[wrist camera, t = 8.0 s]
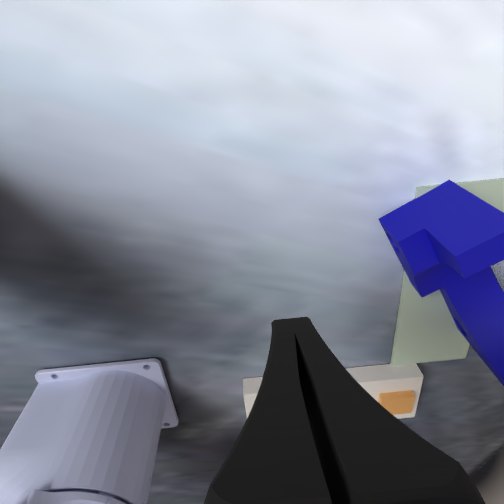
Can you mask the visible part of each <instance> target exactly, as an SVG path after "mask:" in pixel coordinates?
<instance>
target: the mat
mask: <svg viewBox="0 0 504 504" xmlns="http://www.w3.org/2000/svg"><path fill="white" fill-rule="evenodd" d="M455 184H457V185H459V186H460V187H462V188H464V189H465V190H467V191H469V192H470V193H472V194H474V195H475V196H477V197H479V198H480V199H482V200H484V201H485V202H487V203H488V204H490V205H492V206H493V207H495V208H497V209H498V210H500V211H502V212H503V213H504V178H501V179H491V180H481V181H472V182H462V183H455ZM438 186H439V185H433V186H423V187H417V188H416V195H415V199H416V198H418V197H419V196H421V195H423V194H425V193H427V192H429V191H430V190H432V189H434V188H436V187H438ZM491 268H493V265H492V266H491ZM469 345H470V344H469V342H468V341H467V340H466V339H465V337H464V336H463V335H462V334H461V332H460V331H459V330H458V328H457V326H456V324H455V322H454V320H453V318H452V315H451V313H450V311H449V309H448V307H447V305H446V302H445V300H444V298H443V296H442V294H441V292H440V289H439V290H437V291H435V292H433V293H431V294H429V295H427V296H425V297H423V298H422V297H421V296H420V295H419V293H418V292H417V291H416V290H415V288H414V287H413V286H412V284H411V282H410V280H409V278H408V276H407V274H406V272H405V270H404V275H403V282H402V289H401V296H400V302H399V309H398V316H397V322H396V329H395V336H394V343H393V349H392V356H391V363H390V364H391V366H394V365H404V364H414V363H424V362H434V361H443V360H453V359H463V358H466V355H467V352H468V349H469Z"/></svg>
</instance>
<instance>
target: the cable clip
mask: <svg viewBox="0 0 504 504" xmlns="http://www.w3.org/2000/svg"><path fill="white" fill-rule="evenodd" d="M379 221H380V223H381V225H382V227H383V229H384V231H385V233H386V235H387V237H388V239H389V241H390V243H391V245H392V247H393V249H394V251H395V253H396V255H397V257H398V258H399V260H400V262H401V264H402V266H403V268H404V270H405V272H406V274H407V276H408V278H409V280H410V282H411V284H412V286H413V287H414V288H415V290H416V291H417V292H418V293H419V295H420V296H421V297H422V298H423V297H425V296H427V295H429V294H431V293H433V292H435V291H437V290H439V289H440V292H441V294H442V296H443V298H444V300H445V302H446V305H447V307H448V309H449V311H450V313H451V315H452V318H453V320H454V322H455V324H456V326H457V328H458V330H459V331H460V332H461V334H462V335H463V336H464V337H465V339H466V340H467V341H468V342H469V344H470V345H471V346H472V347H473V349H474V350H475V351H476V352H477V354H478V355H479V356H480V357H481V358H482V360H483V361H484V362H485V363H486V365H487V366H488V367H489V368H490V370H491V371H492V372H493V373H494V375H495V376H496V377H497V378H498V380H499V381H500V382H501V383H502V385H503V386H504V292H503V290H502V289H501V287H500V285H499V283H498V281H497V279H496V277H495V275H494V273H493V270H492V268H491V266H492V265H494V264H496V263H498V262H500V261H502V260H504V213H503V212H502V211H500V210H498V209H497V208H495V207H493V206H492V205H490V204H488V203H487V202H485V201H484V200H482V199H480V198H479V197H477V196H475V195H474V194H472V193H470V192H469V191H467V190H465V189H464V188H462V187H460V186H459V185H457V184H455V183H454V182H452V181H450V180H448V181H446V182H445V183H443V184H441V185H439V186H438V187H436V188H434V189H432V190H430V191H429V192H427V193H425V194H423V195H421V196H419V197H418V198H416V199H414V200H412V201H410V202H408V203H407V204H405V205H403V206H401V207H399V208H398V209H396V210H394V211H392V212H390V213H389V214H387V215H385V216H383V217H381V218H380V219H379Z"/></svg>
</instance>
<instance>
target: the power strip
mask: <svg viewBox="0 0 504 504" xmlns="http://www.w3.org/2000/svg"><path fill="white" fill-rule="evenodd" d="M345 369H346V370H347V371H348V372H349V373H350V374H351V376H352V377H353V378H354V379H355V380H356V381H357V382H358V383H359V384H360V385H361V386H362V387H363V388H364V389H365V390H366V391H367V392H368V393H369V394H370V395H371V396H372V397H373V398H374V399H375V400H376V401H377V402H379V403H380V404H381V405H382V406H383V407H384V408H385V409H386V410H388V411H389V412H390V413H391V414H392V415H394V416H395V417H396V418H397V419H399V418H409V417H415V413H416V408H417V404H418V399H419V395H420V390H421V386H422V381H423V377H424V376H423V374H422V373H421V371H420V369H419V367H418V366H417V364H416V363H414V364H404V365H394V366H391V364H384V365H374V366H364V367H354V368H345ZM262 378H263V377H255V378H245V379H243V395H244V402H245V408H246V414H247V418H248V416H249V414H250V411H251V409H252V407H253V404H254V402H255V399H256V396H257V394H258V391H259V388H260V385H261V382H262Z"/></svg>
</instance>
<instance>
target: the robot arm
mask: <svg viewBox="0 0 504 504" xmlns="http://www.w3.org/2000/svg"><path fill="white" fill-rule="evenodd" d="M147 365H149V366H147ZM35 378H36V380H37V382H38V386H37V387H36V389H35V391H34V392H33V394H32V396H31V398H30V399H29V401H28V403H27V404H26V406H25V408H24V410H23V411H22V413H21V415H20V417H19V418H18V420H17V422H16V423H15V425H14V427H13V429H12V430H11V432H10V434H9V435H8V437H7V439H6V441H5V442H4V444H3V446H2V447H1V449H0V504H147V500H148V495H149V489H150V484H151V479H152V474H153V468H154V463H155V458H156V452H157V447H158V442H159V437H160V431H161V428H171V427H176V426H177V425H178V422H179V420H178V416H177V413H176V410H175V407H174V403H173V400H172V397H171V394H170V391H169V387H168V384H167V381H166V378H165V375H164V371H163V368H162V365H161V362H160V361H159V360H158V359H154V358H152V359H143V360H133V361H123V362H113V363H103V364H93V365H83V366H74V367H64V368H54V369H44V370H39V371H37V373H36V375H35ZM204 504H485V502H484V500H483V498H482V497H481V495H480V493H479V491H478V489H477V488H476V486H475V485H474V483H473V482H472V480H471V479H470V477H469V476H468V475H467V473H466V472H465V470H464V469H463V468H462V466H461V465H460V463H459V462H457V461H456V460H454V459H453V458H451V457H450V456H448V455H447V454H445V453H444V452H442V451H441V450H439V449H438V448H436V447H435V446H433V445H432V444H430V443H429V442H427V441H426V440H425V439H423V438H422V437H420V436H419V435H418V434H416V433H415V432H414V431H412V430H411V429H410V428H408V427H407V426H406V425H405V424H403V423H402V422H401V421H400V420H399V419H397V418H396V417H395V416H394V415H392V414H391V413H390V412H389V411H388V410H386V409H385V408H384V407H383V406H382V405H381V404H380V403H379V402H377V401H376V400H375V399H374V398H373V397H372V396H371V395H370V394H369V393H368V392H367V391H366V390H365V389H364V388H363V387H362V386H361V385H360V384H359V383H358V382H357V381H356V380H355V379H354V378H353V377H352V376H351V374H350V373H349V372H348V371H347V370H346V369H345V368H344V367H343V365H342V364H341V363H340V362H339V361H338V359H337V358H336V357H335V356H334V354H333V353H332V352H331V350H330V349H329V348H328V346H327V345H326V344H325V342H324V341H323V340H322V338H321V337H320V335H319V334H318V332H317V331H316V329H315V327H314V326H313V324H312V322H311V320H310V319H309V318H308V317H300V318H291V319H281V320H274V321H273V322H272V337H271V345H270V351H269V355H268V360H267V364H266V368H265V372H264V375H263V378H262V382H261V385H260V388H259V391H258V394H257V396H256V399H255V402H254V404H253V407H252V409H251V411H250V414H249V416H248V418H247V420H246V423H245V425H244V427H243V429H242V431H241V433H240V435H239V437H238V439H237V441H236V442H235V444H234V446H233V448H232V450H231V452H230V454H229V455H228V457H227V459H226V461H225V462H224V464H223V465H222V467H221V469H220V470H219V472H218V473H217V475H216V477H215V478H214V480H213V481H212V483H211V484H210V487H209V490H208V493H207V496H206V499H205V502H204Z"/></svg>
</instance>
